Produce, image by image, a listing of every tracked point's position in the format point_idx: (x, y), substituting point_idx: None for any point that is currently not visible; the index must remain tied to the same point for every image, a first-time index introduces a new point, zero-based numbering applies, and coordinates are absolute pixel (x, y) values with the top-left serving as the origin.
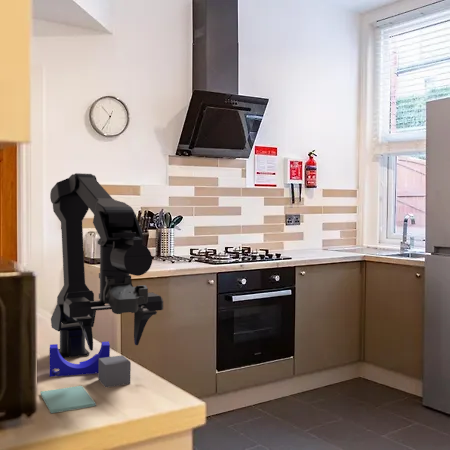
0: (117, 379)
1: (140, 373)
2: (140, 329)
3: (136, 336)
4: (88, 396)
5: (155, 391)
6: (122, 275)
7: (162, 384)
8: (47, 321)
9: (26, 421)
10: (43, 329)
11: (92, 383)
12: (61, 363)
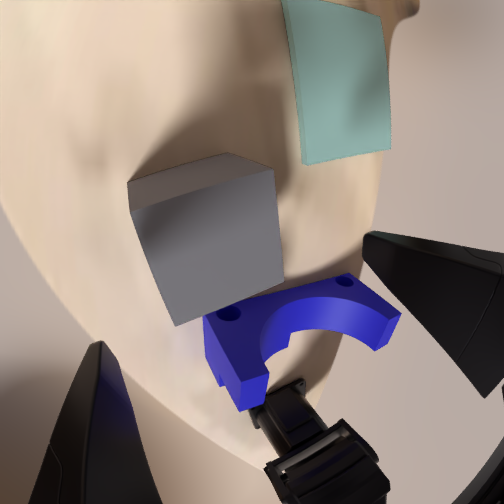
0: (186, 169)
1: (94, 299)
2: (73, 442)
3: (106, 392)
4: (300, 54)
5: (39, 81)
6: None
7: (6, 167)
8: None
9: (403, 12)
10: None
11: None
12: (349, 297)
